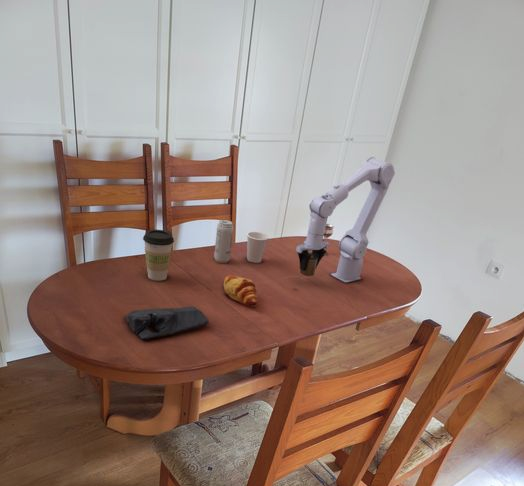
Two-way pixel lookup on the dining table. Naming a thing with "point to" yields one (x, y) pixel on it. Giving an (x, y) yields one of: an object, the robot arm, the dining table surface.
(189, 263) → the dining table surface
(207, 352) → the dining table surface
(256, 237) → the dixie cup
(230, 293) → the croissant
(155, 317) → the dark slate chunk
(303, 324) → the dining table surface
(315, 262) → the tea tin
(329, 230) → the wineglass
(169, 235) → the coffee cup
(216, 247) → the energy drink can
